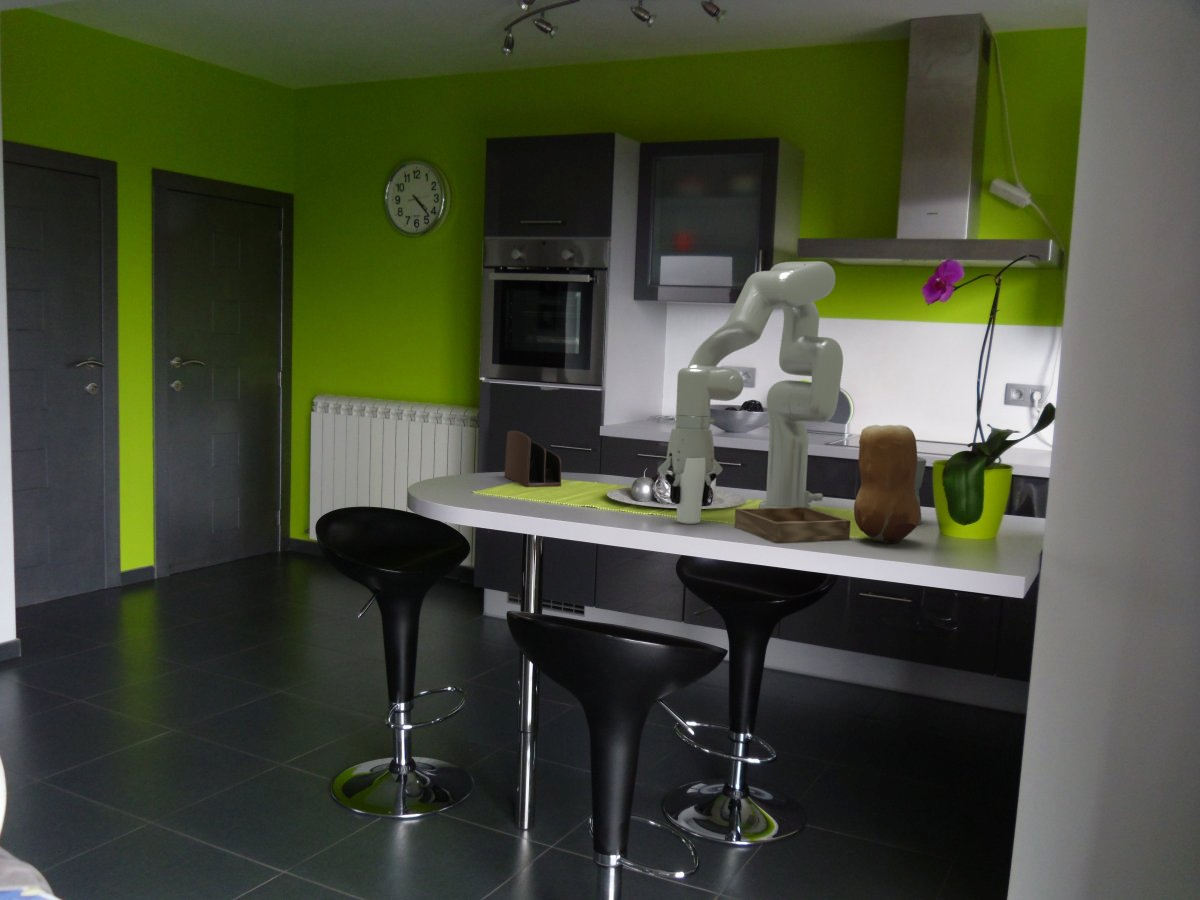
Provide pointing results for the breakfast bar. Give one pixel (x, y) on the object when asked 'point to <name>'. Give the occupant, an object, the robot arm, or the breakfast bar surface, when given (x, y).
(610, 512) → the breakfast bar surface
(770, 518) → the walnut tray
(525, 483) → the letter holder
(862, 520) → the butternut squash
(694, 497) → the drinking glass
